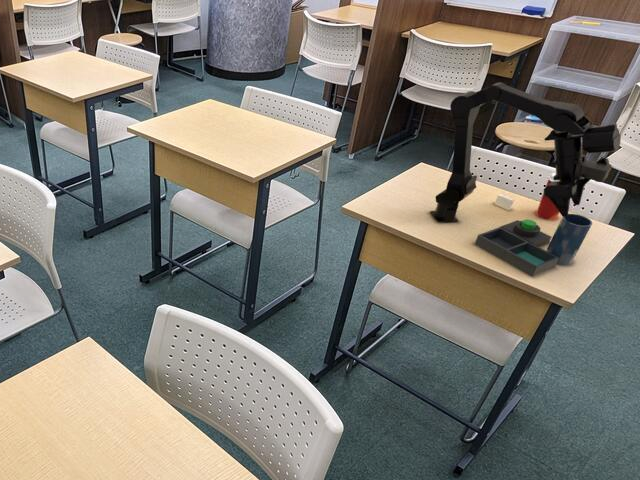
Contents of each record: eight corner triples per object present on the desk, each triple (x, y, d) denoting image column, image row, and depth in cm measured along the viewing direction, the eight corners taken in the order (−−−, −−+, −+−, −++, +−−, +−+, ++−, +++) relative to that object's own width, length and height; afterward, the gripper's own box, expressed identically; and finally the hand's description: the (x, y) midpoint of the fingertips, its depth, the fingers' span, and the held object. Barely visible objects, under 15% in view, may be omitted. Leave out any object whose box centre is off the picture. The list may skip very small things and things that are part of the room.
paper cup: (563, 222, 172) (583, 182, 164) (537, 220, 173) (555, 180, 165) (554, 210, 178) (572, 171, 170) (528, 208, 180) (545, 169, 171)
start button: (517, 226, 164) (520, 221, 163) (525, 223, 165) (528, 218, 164) (529, 231, 162) (531, 226, 161) (537, 228, 163) (539, 223, 162)
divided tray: (474, 244, 163) (478, 234, 161) (495, 236, 166) (499, 226, 164) (532, 277, 150) (537, 267, 148) (554, 267, 153) (559, 257, 151)
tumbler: (539, 252, 159) (557, 213, 152) (562, 252, 159) (582, 213, 152) (552, 266, 154) (572, 226, 146) (577, 265, 154) (598, 226, 146)
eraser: (496, 203, 183) (500, 193, 181) (510, 209, 179) (514, 199, 177) (494, 204, 182) (497, 194, 180) (508, 210, 179) (512, 200, 177)
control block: (497, 232, 168) (502, 221, 166) (515, 226, 171) (519, 214, 169) (531, 249, 160) (536, 238, 158) (548, 243, 163) (554, 231, 161)
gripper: (594, 162, 132) (596, 223, 137) (618, 141, 142) (619, 198, 147) (541, 165, 141) (544, 222, 146) (567, 145, 151) (569, 199, 155)
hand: (571, 210), depth 148 cm, fingers open, 9 cm apart
